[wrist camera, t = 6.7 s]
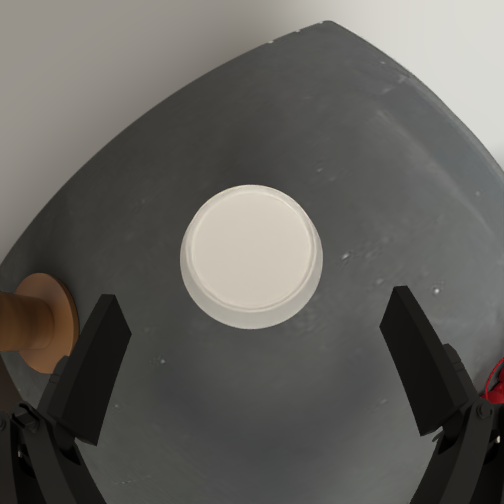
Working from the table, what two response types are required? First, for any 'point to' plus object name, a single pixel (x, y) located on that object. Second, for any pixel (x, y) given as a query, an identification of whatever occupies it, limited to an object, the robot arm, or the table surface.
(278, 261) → the beverage can
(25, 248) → the table surface
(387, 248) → the table surface
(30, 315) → the stand
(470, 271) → the table surface
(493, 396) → the alarm clock
